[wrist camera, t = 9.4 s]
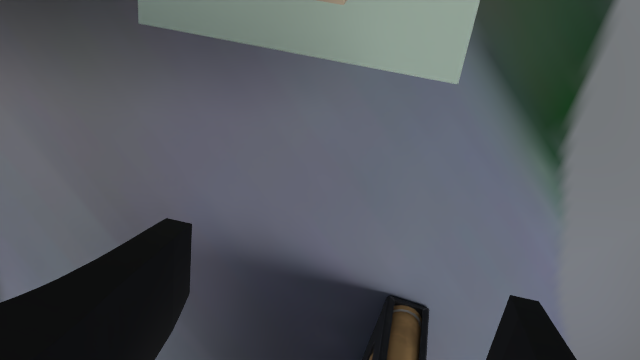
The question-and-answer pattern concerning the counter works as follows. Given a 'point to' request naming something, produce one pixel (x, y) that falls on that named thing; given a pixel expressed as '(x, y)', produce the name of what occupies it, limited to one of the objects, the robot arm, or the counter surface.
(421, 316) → the ammunition clip
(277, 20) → the sage base block
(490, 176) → the counter surface
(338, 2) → the beech block
